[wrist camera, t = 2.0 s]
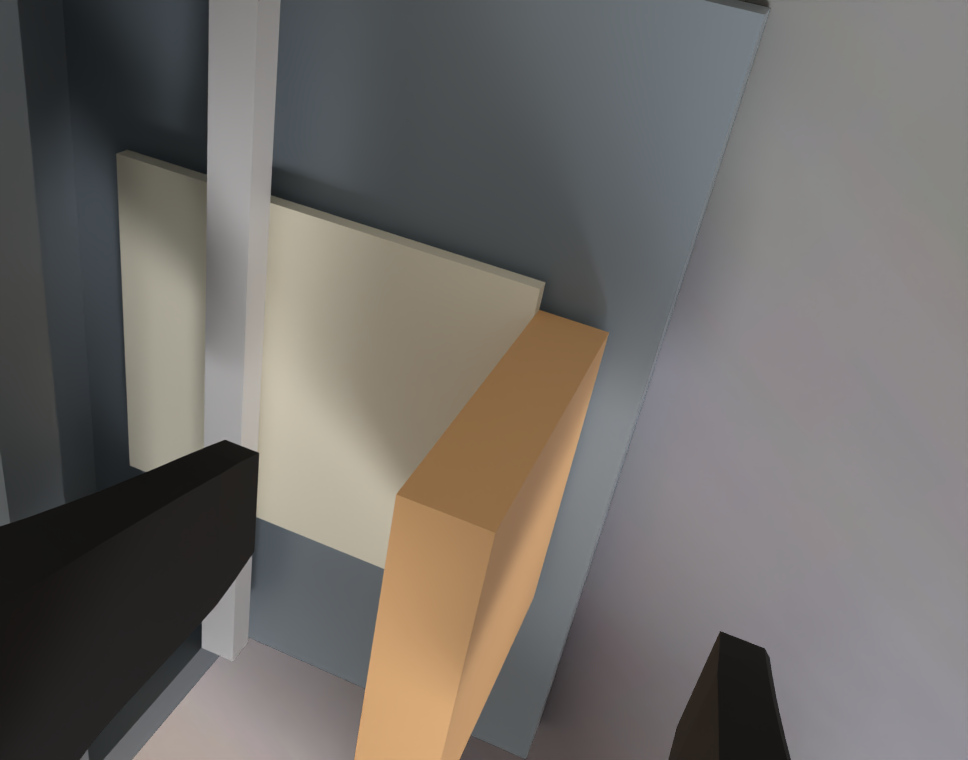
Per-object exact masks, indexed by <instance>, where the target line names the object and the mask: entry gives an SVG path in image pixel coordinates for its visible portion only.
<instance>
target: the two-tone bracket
mask: <svg viewBox="0 0 968 760" xmlns="http://www.w3.org/2000/svg"><path fill="white" fill-rule="evenodd" d="M116 160H117V183H118V206H119V229H120V252H121V275H122V298H123V321H124V344H125V367H126V390H127V413H128V436H129V459H130V466H132V467H135V468H137V469H140V470H142V471H145V472H148V471H150V470H152V469H155V468H157V467H159V466H162V465H164V464H167V463H169V462H171V461H174V460H176V459H178V458H181V457H183V456H186V455H188V454H190V453H193V452H195V451H197V450H200V449H202V448H204V404H205V318H206V232H207V175H206V174H203V173H200V172H196V171H193V170H190V169H187V168H184V167H181V166H178V165H174V164H171V163H168V162H165V161H162V160H159V159H156V158H152V157H149V156H146V155H143V154H140V153H137V152H133V151H130V150H125V151H122V152H119V153H116ZM545 283H546V282H543V281H540V280H537V279H533V278H530V277H527V276H524V275H521V274H518V273H515V272H511V271H508V270H505V269H502V268H499V267H496V266H493V265H489V264H486V263H483V262H480V261H477V260H474V259H470V258H467V257H464V256H461V255H458V254H455V253H452V252H448V251H445V250H442V249H439V248H436V247H433V246H430V245H426V244H423V243H420V242H417V241H414V240H411V239H407V238H404V237H401V236H398V235H395V234H392V233H389V232H385V231H382V230H379V229H376V228H373V227H370V226H367V225H363V224H360V223H357V222H354V221H351V220H348V219H344V218H341V217H338V216H335V215H332V214H329V213H326V212H322V211H319V210H316V209H313V208H310V207H307V206H304V205H300V204H297V203H294V202H291V201H288V200H285V199H281V198H278V197H275V196H272V195H271V198H270V218H269V237H268V257H267V276H266V296H265V316H264V335H263V355H262V374H261V394H260V414H259V433H258V453H259V469H258V489H257V510H256V517H258V518H260V519H263V520H265V521H267V522H270V523H272V524H275V525H277V526H280V527H282V528H285V529H287V530H290V531H292V532H294V533H297V534H299V535H302V536H304V537H307V538H309V539H312V540H314V541H317V542H319V543H322V544H324V545H326V546H329V547H331V548H334V549H336V550H339V551H341V552H344V553H346V554H349V555H351V556H353V557H356V558H358V559H361V560H363V561H366V562H368V563H371V564H373V565H376V566H378V567H380V568H383V569H384V575H383V581H382V587H381V594H380V600H379V606H378V613H377V619H376V625H375V632H374V638H373V644H372V650H371V657H370V663H369V669H368V676H367V682H366V688H365V695H364V701H363V707H362V714H361V720H360V726H359V733H358V739H357V745H356V752H355V758H354V760H459V759H460V757H461V755H462V753H463V751H464V749H465V746H466V744H467V742H468V740H469V738H470V735H471V733H472V731H473V729H474V727H475V725H476V722H477V720H478V718H479V716H480V714H481V711H482V709H483V707H484V705H485V703H486V701H487V698H488V696H489V694H490V692H491V690H492V687H493V685H494V683H495V681H496V679H497V677H498V674H499V672H500V670H501V668H502V666H503V663H504V661H505V659H506V657H507V655H508V653H509V650H510V648H511V646H512V644H513V642H514V639H515V637H516V635H517V633H518V631H519V629H520V626H521V624H522V622H523V620H524V618H525V615H526V613H527V611H528V609H529V607H530V605H531V602H532V600H533V598H534V595H535V591H536V588H537V584H538V581H539V577H540V574H541V570H542V567H543V563H544V560H545V556H546V553H547V549H548V546H549V542H550V538H551V535H552V531H553V528H554V524H555V521H556V517H557V514H558V510H559V507H560V503H561V500H562V496H563V493H564V489H565V486H566V482H567V479H568V475H569V472H570V468H571V465H572V461H573V458H574V454H575V451H576V447H577V444H578V440H579V437H580V433H581V430H582V426H583V423H584V419H585V416H586V412H587V409H588V405H589V402H590V398H591V395H592V391H593V388H594V384H595V380H596V377H597V373H598V370H599V366H600V363H601V359H602V356H603V352H604V349H605V345H606V342H607V338H608V335H609V332H606V331H603V330H600V329H597V328H594V327H591V326H588V325H585V324H582V323H578V322H575V321H572V320H569V319H566V318H563V317H560V316H557V315H554V314H551V313H548V312H545V311H542V310H539V308H540V304H541V300H542V296H543V291H544V287H545Z"/></svg>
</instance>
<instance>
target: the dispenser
mask: <svg viewBox="0 0 968 760" xmlns="http://www.w3.org/2000/svg"><path fill="white" fill-rule="evenodd" d="M770 9H771V8H769V7H765V6H761V5H757V4H752V3H748V2H744V1H740V0H0V526H3V525H6V524H9V523H12V522H15V521H18V520H21V519H24V518H27V517H30V516H33V515H36V514H38V513H41V512H44V511H47V510H49V509H52V508H55V507H58V506H60V505H63V504H66V503H69V502H72V501H74V500H77V499H80V498H83V497H85V496H88V495H91V494H93V493H96V492H99V491H101V490H104V489H106V488H108V487H111V486H113V485H116V484H118V483H121V482H123V481H126V480H128V479H130V478H133V477H135V476H138V475H140V474H143V473H145V471H142V470H140V469H137V468H135V467H132V466H130V459H129V436H128V413H127V390H126V367H125V344H124V321H123V298H122V275H121V252H120V229H119V206H118V183H117V160H116V153H119V152H122V151H125V150H130V151H133V152H137V153H140V154H143V155H146V156H149V157H152V158H156V159H159V160H162V161H165V162H168V163H171V164H174V165H178V166H181V167H184V168H187V169H190V170H193V171H196V172H200V173H203V174H206V175H207V232H206V318H205V404H204V448H205V447H207V446H210V445H212V444H215V443H218V442H220V441H223V440H227V441H230V442H233V443H235V444H238V445H240V446H243V447H246V448H248V449H251V450H253V451H256V452H258V433H259V414H260V394H261V374H262V355H263V335H264V316H265V296H266V276H267V257H268V237H269V218H270V198H271V195H272V196H275V197H278V198H281V199H285V200H288V201H291V202H294V203H297V204H300V205H304V206H307V207H310V208H313V209H316V210H319V211H322V212H326V213H329V214H332V215H335V216H338V217H341V218H344V219H348V220H351V221H354V222H357V223H360V224H363V225H367V226H370V227H373V228H376V229H379V230H382V231H385V232H389V233H392V234H395V235H398V236H401V237H404V238H407V239H411V240H414V241H417V242H420V243H423V244H426V245H430V246H433V247H436V248H439V249H442V250H445V251H448V252H452V253H455V254H458V255H461V256H464V257H467V258H470V259H474V260H477V261H480V262H483V263H486V264H489V265H493V266H496V267H499V268H502V269H505V270H508V271H511V272H515V273H518V274H521V275H524V276H527V277H530V278H533V279H537V280H540V281H543V282H546V283H545V287H544V291H543V296H542V300H541V304H540V308H539V310H542V311H545V312H548V313H551V314H554V315H557V316H560V317H563V318H566V319H569V320H572V321H575V322H578V323H582V324H585V325H588V326H591V327H594V328H597V329H600V330H603V331H606V332H609V335H608V338H607V342H606V345H605V349H604V352H603V356H602V359H601V363H600V366H599V370H598V373H597V377H596V380H595V384H594V388H593V391H592V395H591V398H590V402H589V405H588V409H587V412H586V416H585V419H584V423H583V426H582V430H581V433H580V437H579V440H578V444H577V447H576V451H575V454H574V458H573V461H572V465H571V468H570V472H569V475H568V479H567V482H566V486H565V489H564V493H563V496H562V500H561V503H560V507H559V510H558V514H557V517H556V521H555V524H554V528H553V531H552V535H551V538H550V542H549V546H548V549H547V553H546V556H545V560H544V563H543V567H542V570H541V574H540V577H539V581H538V584H537V588H536V591H535V595H534V598H533V600H532V602H531V605H530V607H529V609H528V611H527V613H526V615H525V618H524V620H523V622H522V624H521V626H520V629H519V631H518V633H517V635H516V637H515V639H514V642H513V644H512V646H511V648H510V650H509V653H508V655H507V657H506V659H505V661H504V663H503V666H502V668H501V670H500V672H499V674H498V677H497V679H496V681H495V683H494V685H493V687H492V690H491V692H490V694H489V696H488V698H487V701H486V703H485V705H484V707H483V709H482V711H481V714H480V716H479V718H478V720H477V722H476V725H475V727H474V729H473V731H472V733H471V736H473V737H476V738H478V739H480V740H482V741H485V742H487V743H489V744H492V745H494V746H496V747H498V748H501V749H503V750H505V751H507V752H510V753H512V754H514V755H516V756H519V757H521V758H523V759H526V758H527V755H528V753H529V750H530V747H531V745H532V742H533V740H534V737H535V734H536V732H537V729H538V726H539V723H540V720H541V717H542V714H543V711H544V708H545V705H546V702H547V699H548V696H549V693H550V689H551V686H552V683H553V680H554V677H555V674H556V671H557V668H558V665H559V662H560V659H561V655H562V652H563V649H564V646H565V643H566V640H567V637H568V634H569V631H570V628H571V624H572V621H573V618H574V615H575V612H576V609H577V606H578V603H579V600H580V597H581V594H582V590H583V587H584V584H585V581H586V578H587V575H588V572H589V569H590V566H591V563H592V559H593V556H594V553H595V550H596V547H597V544H598V541H599V538H600V535H601V532H602V529H603V525H604V522H605V519H606V516H607V513H608V510H609V507H610V504H611V501H612V498H613V495H614V491H615V488H616V485H617V482H618V479H619V476H620V473H621V470H622V467H623V464H624V460H625V457H626V454H627V451H628V448H629V445H630V442H631V439H632V436H633V433H634V430H635V426H636V423H637V420H638V417H639V414H640V411H641V408H642V405H643V402H644V399H645V395H646V392H647V389H648V386H649V383H650V380H651V377H652V374H653V371H654V368H655V365H656V361H657V358H658V355H659V352H660V349H661V346H662V343H663V340H664V337H665V334H666V331H667V327H668V324H669V321H670V318H671V315H672V312H673V309H674V306H675V303H676V300H677V296H678V293H679V290H680V287H681V284H682V281H683V278H684V275H685V272H686V269H687V266H688V262H689V259H690V256H691V253H692V250H693V247H694V244H695V241H696V238H697V235H698V231H699V228H700V225H701V222H702V219H703V216H704V213H705V210H706V207H707V204H708V201H709V197H710V194H711V191H712V188H713V185H714V182H715V179H716V176H717V173H718V170H719V167H720V163H721V160H722V157H723V154H724V151H725V148H726V145H727V142H728V139H729V136H730V132H731V129H732V126H733V123H734V120H735V117H736V114H737V111H738V108H739V105H740V102H741V98H742V95H743V92H744V89H745V86H746V83H747V80H748V77H749V74H750V71H751V67H752V64H753V61H754V58H755V55H756V52H757V49H758V46H759V43H760V40H761V37H762V33H763V30H764V27H765V24H766V21H767V18H768V15H769V12H770ZM383 575H384V569H383V568H380V567H378V566H376V565H373V564H371V563H368V562H366V561H363V560H361V559H358V558H356V557H353V556H351V555H349V554H346V553H344V552H341V551H339V550H336V549H334V548H331V547H329V546H326V545H324V544H322V543H319V542H317V541H314V540H312V539H309V538H307V537H304V536H302V535H299V534H297V533H294V532H292V531H290V530H287V529H285V528H282V527H280V526H277V525H275V524H272V523H270V522H267V521H265V520H263V519H260V518H258V517H256V530H255V550H254V553H253V554H252V556H251V557H250V559H249V560H248V562H247V563H246V565H245V566H244V568H243V569H242V570H241V572H240V573H239V575H238V576H237V578H236V579H235V581H234V582H233V584H232V585H231V586H230V588H229V589H228V590H227V592H226V593H225V594H224V596H223V597H222V599H221V600H220V601H219V603H218V604H217V605H216V606H215V608H214V609H213V610H212V611H211V612H210V613H209V614H208V615H207V617H206V618H205V619H204V620H203V621H202V622H201V623H200V624H199V625H198V626H197V628H196V629H195V630H194V631H193V632H192V633H191V634H190V635H189V636H188V637H187V639H186V640H185V641H184V642H183V643H182V644H181V645H180V646H179V647H178V648H177V649H176V651H175V652H174V653H173V654H172V655H171V656H170V657H169V658H168V659H167V660H166V661H165V662H164V664H163V665H162V666H161V667H160V668H159V669H158V670H157V671H156V672H155V673H154V674H153V675H152V676H151V678H150V679H149V680H148V681H147V682H146V683H145V684H144V685H143V686H142V687H141V688H140V689H139V691H138V692H137V693H136V694H135V695H134V696H133V697H132V698H131V699H130V700H129V701H128V702H127V704H126V705H125V706H124V707H123V708H122V709H121V710H120V711H119V712H118V713H117V714H116V716H115V717H114V718H113V719H112V720H111V721H110V723H109V724H108V725H107V726H106V727H105V728H104V730H103V731H102V732H101V733H100V734H99V736H98V737H97V738H96V739H95V740H94V742H93V743H92V744H91V746H90V747H89V748H88V750H87V751H86V752H85V754H84V755H83V756H82V758H81V759H80V760H132V759H133V758H134V757H135V755H136V754H137V753H138V752H139V751H140V750H141V748H142V747H143V746H144V745H145V744H146V742H147V741H148V740H149V739H150V738H151V736H152V735H153V734H154V733H155V732H156V731H157V729H158V728H159V727H160V726H161V725H162V723H163V722H164V721H165V720H166V719H167V718H168V716H169V715H170V714H171V713H172V712H173V710H174V709H175V708H176V707H177V706H178V704H179V703H180V702H181V701H182V700H183V699H184V697H185V696H186V695H187V694H188V693H189V691H190V690H191V689H192V688H193V687H194V685H195V684H196V683H197V682H198V681H199V680H200V678H201V677H202V676H203V675H204V674H205V672H206V671H207V670H208V669H209V668H210V667H211V665H212V664H213V663H214V662H215V661H216V659H217V658H218V657H219V656H221V657H223V658H226V659H228V660H230V661H232V662H233V660H234V659H235V658H236V657H237V656H238V654H239V653H240V652H241V651H242V649H243V648H244V647H245V646H246V645H247V643H248V637H249V638H251V639H253V640H256V641H258V642H260V643H262V644H265V645H267V646H269V647H272V648H274V649H276V650H278V651H281V652H283V653H285V654H287V655H290V656H292V657H294V658H296V659H299V660H301V661H303V662H306V663H308V664H310V665H312V666H315V667H317V668H319V669H321V670H324V671H326V672H328V673H330V674H333V675H335V676H337V677H340V678H342V679H344V680H346V681H349V682H351V683H353V684H355V685H358V686H360V687H362V688H366V682H367V676H368V669H369V663H370V657H371V650H372V644H373V638H374V632H375V625H376V619H377V613H378V606H379V600H380V594H381V587H382V581H383Z"/></svg>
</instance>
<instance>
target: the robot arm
mask: <svg viewBox="0 0 968 760" xmlns="http://www.w3.org/2000/svg"><path fill="white" fill-rule="evenodd" d="M258 469H259V453H258V452H256V451H253V450H251V449H248V448H246V447H243V446H240V445H238V444H235V443H233V442H230V441H227V440H223V441H220V442H218V443H215V444H212V445H210V446H207V447H205V448H202V449H200V450H197V451H195V452H193V453H190V454H188V455H186V456H183V457H181V458H178V459H176V460H174V461H171V462H169V463H167V464H164V465H162V466H159V467H157V468H155V469H152V470H150V471H148V472H145V473H143V474H140V475H138V476H135V477H133V478H130V479H128V480H126V481H123V482H121V483H118V484H116V485H113V486H111V487H108V488H106V489H104V490H101V491H99V492H96V493H93V494H91V495H88V496H85V497H83V498H80V499H77V500H74V501H72V502H69V503H66V504H63V505H60V506H58V507H55V508H52V509H49V510H47V511H44V512H41V513H38V514H36V515H33V516H30V517H27V518H24V519H21V520H18V521H15V522H12V523H9V524H6V525H3V526H0V760H80V759H81V758H82V756H83V755H84V754H85V752H86V751H87V750H88V748H89V747H90V746H91V744H92V743H93V742H94V740H95V739H96V738H97V737H98V736H99V734H100V733H101V732H102V731H103V730H104V728H105V727H106V726H107V725H108V724H109V723H110V721H111V720H112V719H113V718H114V717H115V716H116V714H117V713H118V712H119V711H120V710H121V709H122V708H123V707H124V706H125V705H126V704H127V702H128V701H129V700H130V699H131V698H132V697H133V696H134V695H135V694H136V693H137V692H138V691H139V689H140V688H141V687H142V686H143V685H144V684H145V683H146V682H147V681H148V680H149V679H150V678H151V676H152V675H153V674H154V673H155V672H156V671H157V670H158V669H159V668H160V667H161V666H162V665H163V664H164V662H165V661H166V660H167V659H168V658H169V657H170V656H171V655H172V654H173V653H174V652H175V651H176V649H177V648H178V647H179V646H180V645H181V644H182V643H183V642H184V641H185V640H186V639H187V637H188V636H189V635H190V634H191V633H192V632H193V631H194V630H195V629H196V628H197V626H198V625H199V624H200V623H201V622H202V621H203V620H204V619H205V618H206V617H207V615H208V614H209V613H210V612H211V611H212V610H213V609H214V608H215V606H216V605H217V604H218V603H219V601H220V600H221V599H222V597H223V596H224V594H225V593H226V592H227V590H228V589H229V588H230V586H231V585H232V584H233V582H234V581H235V579H236V578H237V576H238V575H239V573H240V572H241V570H242V569H243V568H244V566H245V565H246V563H247V562H248V560H249V559H250V557H251V556H252V554H253V553H254V550H255V530H256V510H257V489H258ZM669 760H791V759H790V755H789V751H788V747H787V743H786V739H785V735H784V730H783V726H782V722H781V717H780V713H779V708H778V704H777V699H776V694H775V688H774V683H773V677H772V671H771V664H770V658H769V656H768V654H767V652H766V650H765V648H762V647H759V646H757V645H754V644H752V643H749V642H747V641H744V640H741V639H739V638H736V637H734V636H731V635H728V634H726V633H723V632H721V631H720V633H719V635H718V637H717V640H716V642H715V644H714V646H713V648H712V651H711V653H710V655H709V657H708V659H707V662H706V664H705V666H704V668H703V670H702V673H701V675H700V677H699V679H698V682H697V684H696V686H695V688H694V690H693V693H692V695H691V697H690V699H689V701H688V704H687V706H686V708H685V710H684V712H683V715H682V717H681V719H680V721H679V724H678V726H677V729H676V733H675V737H674V740H673V744H672V748H671V752H670V756H669Z"/></svg>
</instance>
